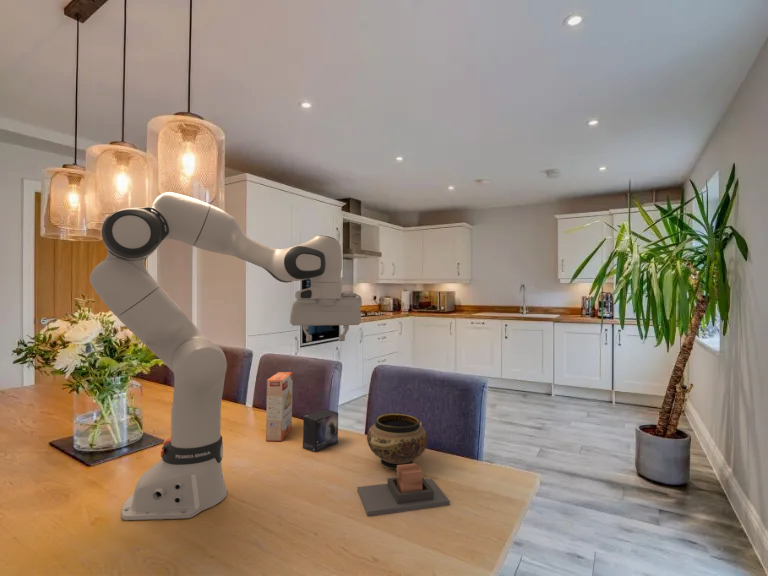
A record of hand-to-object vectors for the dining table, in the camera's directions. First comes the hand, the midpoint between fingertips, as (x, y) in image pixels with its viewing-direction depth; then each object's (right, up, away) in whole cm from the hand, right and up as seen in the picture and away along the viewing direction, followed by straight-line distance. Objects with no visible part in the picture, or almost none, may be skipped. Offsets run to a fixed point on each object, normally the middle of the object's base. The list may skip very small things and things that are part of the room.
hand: (325, 341), depth 118 cm
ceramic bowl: (+21, -37, +3) cm, 42 cm away
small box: (-4, -37, +17) cm, 41 cm away
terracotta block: (+23, -35, -16) cm, 45 cm away
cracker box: (-20, -37, +27) cm, 50 cm away
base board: (+21, -36, -17) cm, 45 cm away
